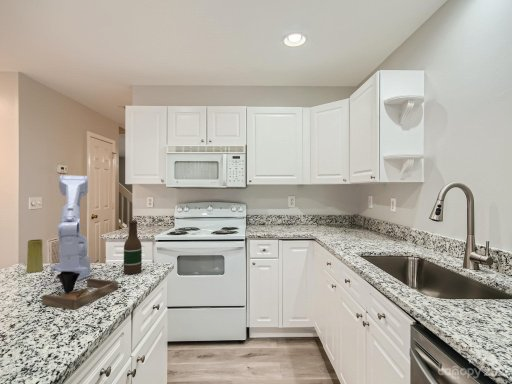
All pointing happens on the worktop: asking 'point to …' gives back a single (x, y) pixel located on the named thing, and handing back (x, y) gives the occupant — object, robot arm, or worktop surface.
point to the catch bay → (74, 304)
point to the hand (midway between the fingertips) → (68, 292)
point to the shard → (75, 294)
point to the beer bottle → (132, 251)
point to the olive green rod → (34, 256)
